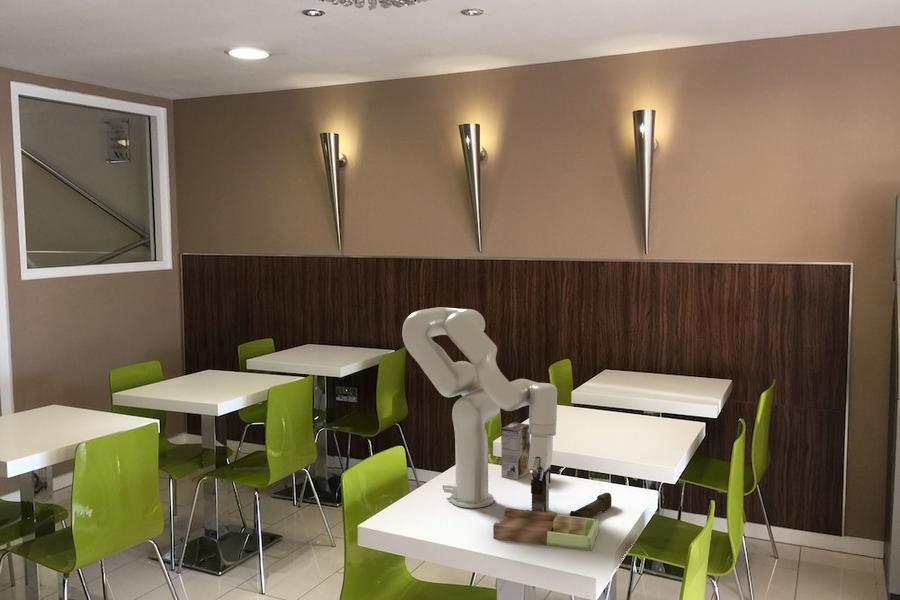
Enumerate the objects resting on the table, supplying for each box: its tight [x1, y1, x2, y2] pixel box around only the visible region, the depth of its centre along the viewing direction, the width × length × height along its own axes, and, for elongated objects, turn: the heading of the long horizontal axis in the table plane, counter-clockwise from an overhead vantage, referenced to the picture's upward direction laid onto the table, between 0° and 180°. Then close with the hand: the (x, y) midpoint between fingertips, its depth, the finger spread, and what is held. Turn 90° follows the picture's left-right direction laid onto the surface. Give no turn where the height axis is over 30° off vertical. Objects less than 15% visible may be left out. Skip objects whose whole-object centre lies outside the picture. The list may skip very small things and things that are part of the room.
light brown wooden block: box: [569, 517, 587, 536], centre depth 196 cm, size 4×4×4 cm
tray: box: [546, 514, 600, 551], centre depth 196 cm, size 11×13×3 cm
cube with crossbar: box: [531, 469, 550, 513], centre depth 213 cm, size 4×8×12 cm, turn 162°
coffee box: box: [500, 421, 531, 480], centre depth 248 cm, size 9×6×16 cm
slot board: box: [492, 507, 558, 546], centre depth 200 cm, size 14×13×4 cm
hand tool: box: [569, 492, 612, 519], centre depth 212 cm, size 19×4×5 cm, turn 136°
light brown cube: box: [553, 515, 572, 534], centre depth 197 cm, size 4×4×4 cm
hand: (540, 488), depth 213 cm, fingers open, 9 cm apart
